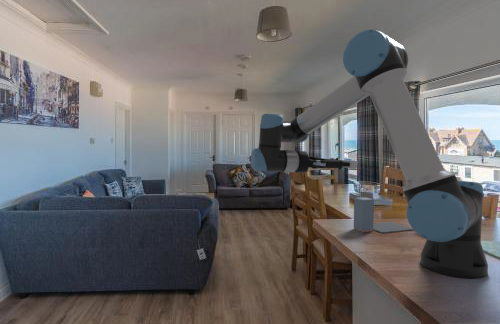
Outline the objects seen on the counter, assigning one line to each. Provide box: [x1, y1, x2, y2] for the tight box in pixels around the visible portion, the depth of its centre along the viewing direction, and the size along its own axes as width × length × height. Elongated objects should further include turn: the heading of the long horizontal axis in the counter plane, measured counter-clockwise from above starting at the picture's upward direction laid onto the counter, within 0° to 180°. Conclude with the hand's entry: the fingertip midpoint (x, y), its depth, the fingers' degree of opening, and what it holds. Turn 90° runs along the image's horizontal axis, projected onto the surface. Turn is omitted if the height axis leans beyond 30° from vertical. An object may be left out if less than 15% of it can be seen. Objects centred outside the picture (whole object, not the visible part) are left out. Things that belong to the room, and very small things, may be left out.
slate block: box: [353, 196, 375, 233], centre depth 124 cm, size 5×5×12 cm
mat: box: [373, 221, 414, 234], centre depth 128 cm, size 15×12×1 cm
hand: (355, 164), depth 120 cm, fingers closed
